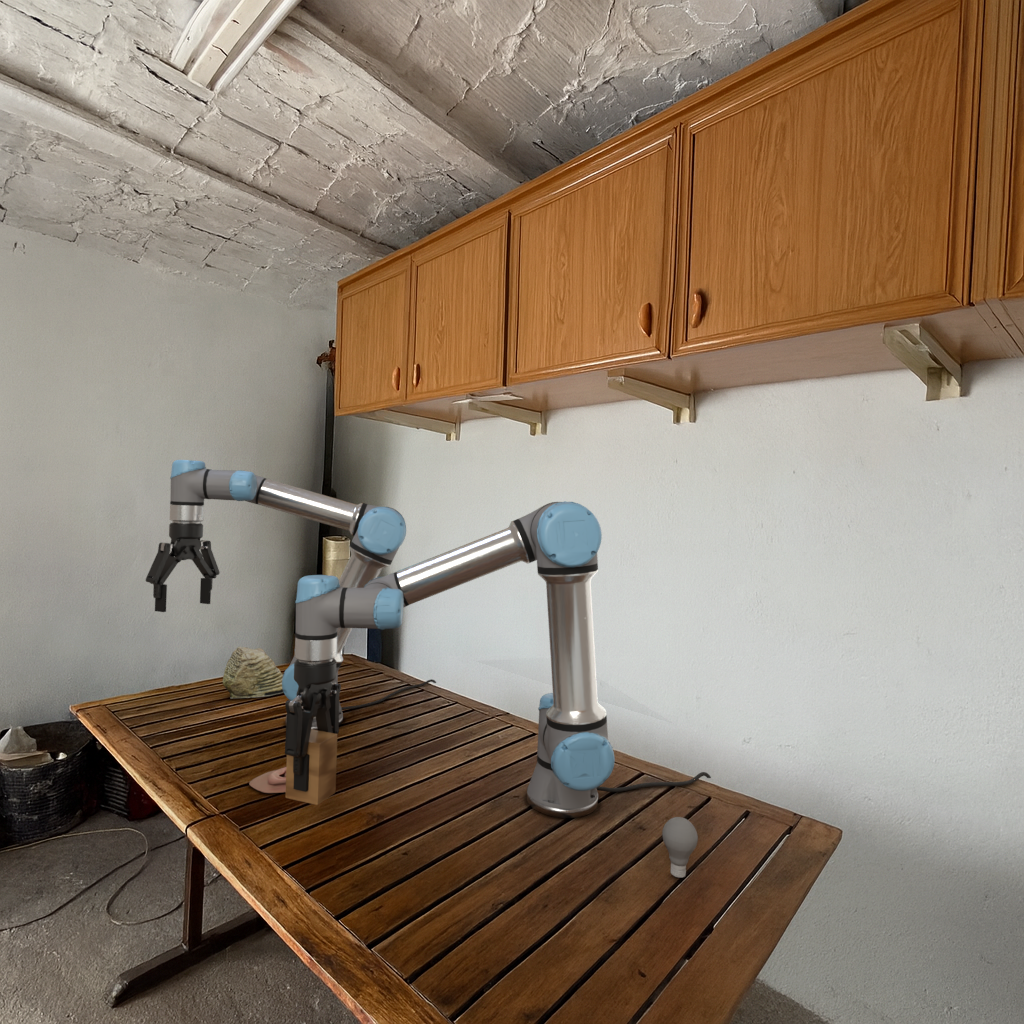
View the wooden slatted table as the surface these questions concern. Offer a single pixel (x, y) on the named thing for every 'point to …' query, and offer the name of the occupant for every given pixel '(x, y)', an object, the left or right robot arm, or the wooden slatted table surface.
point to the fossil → (252, 674)
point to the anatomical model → (270, 781)
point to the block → (316, 769)
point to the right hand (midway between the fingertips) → (311, 782)
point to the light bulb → (679, 843)
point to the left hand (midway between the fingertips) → (183, 607)
